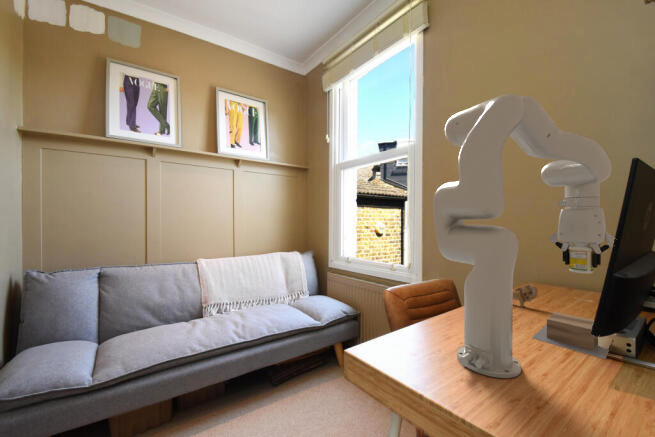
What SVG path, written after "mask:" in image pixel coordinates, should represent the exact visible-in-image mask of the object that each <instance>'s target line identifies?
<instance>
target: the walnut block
mask: <svg viewBox="0 0 655 437" xmlns="http://www.w3.org/2000/svg"><path fill="white" fill-rule="evenodd" d="M594 320H595V319H591V318H586V317H582V316H577V315H571V314H567V313H564V312H563V313H562V312H559V311H554V312H553V313H552V314H551V315H550V316H549V317H547V318H546V324H547V338H550V339H554V340H557V341H561V342H565V343H568V344H572V345H576V346H579V347H583V348H586V349H590V350H593V349H594V347H595V345H596V343H597V342H598V337H596V336H594V335H592V334H591V328H592V324H593V322H594Z"/></svg>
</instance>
